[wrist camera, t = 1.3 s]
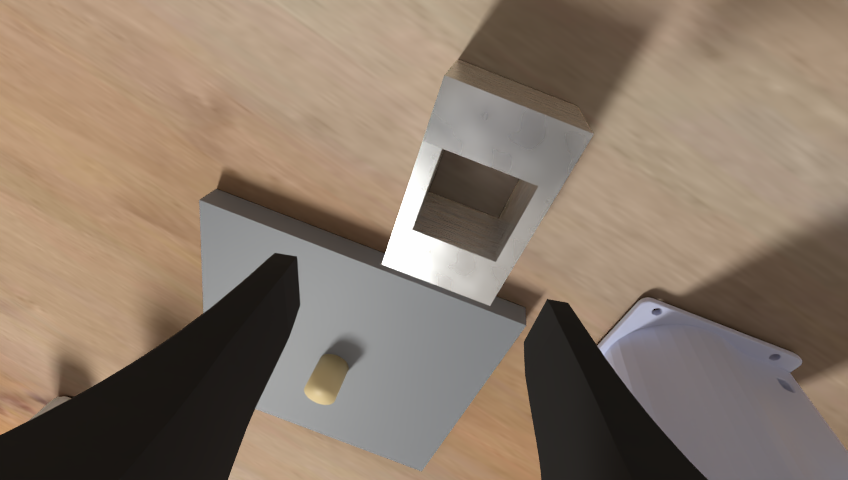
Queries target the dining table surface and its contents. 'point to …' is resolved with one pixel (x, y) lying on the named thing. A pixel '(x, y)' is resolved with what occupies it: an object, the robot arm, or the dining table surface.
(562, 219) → the dining table surface
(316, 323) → the pin board
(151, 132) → the dining table surface
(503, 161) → the block with square hole
